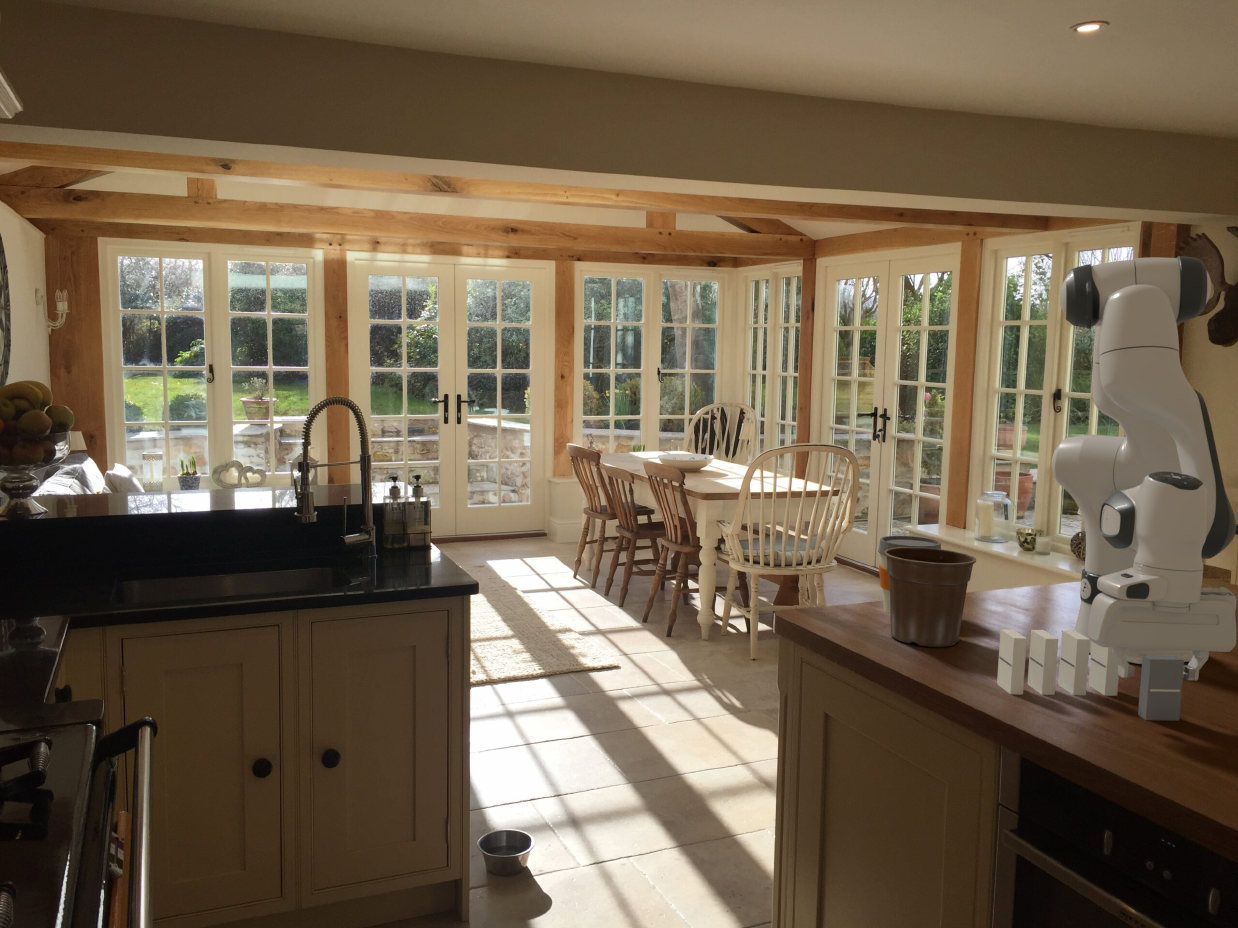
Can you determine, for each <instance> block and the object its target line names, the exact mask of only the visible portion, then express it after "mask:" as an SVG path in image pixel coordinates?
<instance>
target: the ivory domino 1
mask: <svg viewBox="0 0 1238 928" xmlns="http://www.w3.org/2000/svg"><path fill="white" fill-rule="evenodd" d="M999 633H1000V634H999V650H998V664H997V677H996V678H997V679H996V685H998V686H999V687H1001V688H1002V689H1003V690H1004V691H1005V692H1007V693H1008V694H1009V695H1023V694H1024V686H1025V685H1024V682H1025V670H1026V657H1027V656H1026V653H1027V637H1026V636H1023V635H1022V634H1021V633H1020V632H1017V631H1016V630H1014V629H1005V628H1004V629H1000V632H999Z"/></svg>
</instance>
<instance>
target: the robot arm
mask: <svg viewBox="0 0 1238 928" xmlns="http://www.w3.org/2000/svg"><path fill="white" fill-rule="evenodd" d="M1211 290H1212V280H1211V277H1210V274H1209V271H1208V270H1207V267H1206V264H1205V263H1204V262H1203V261H1202V260H1201V259H1200V258H1198V257H1192V256H1185V255H1184V256H1182V255H1181V256H1180V255H1177V257H1161V256H1160V257H1159V256H1157V257H1152V256H1151V257H1137V258H1136V257H1134V258H1133V259H1125V260H1117V261H1109V262H1104V263H1098V264H1095V265H1092V264H1090V263H1089V264H1088V263H1087V264H1084V265H1080V266H1076V267H1074V268H1072V269H1070V270H1069V271H1068V272H1067V274H1065V278H1064V281H1062V285H1061V287H1060V292H1059V306H1060V308H1061V311H1062V314H1063V315H1064V317H1065V320H1066V321H1067V322H1068V323H1069V324H1071V325H1072V326H1075V327H1079V328H1084V329H1089V330H1091V329H1092V327H1096V328H1095V333H1094V335H1095V336H1094V342H1093V354H1092V355H1093V356H1092V357H1093V359H1092V360H1093V361H1092V362H1093V363H1092V400H1093V402H1094V405H1095V406H1096V408H1097V409H1098V410H1099V412H1101V413H1102V414H1103V415H1105V416H1107V417H1108V418H1111V419H1113V421H1115V422H1117V423H1118V425H1119V426H1120V428H1121V429H1122V431H1123V432H1124V436H1118V435H1117V436H1116V435H1115V436H1114V435H1103V434H1087V435H1086V434H1084V435H1078V436H1070V437H1065V438H1064V439H1063V440H1062V441H1060V442H1059V444H1058V445H1057V446H1056V448H1055V449H1054V452H1053V454H1052V458H1051V471H1052V475H1053V477H1054V479H1055V480H1056V482H1057V483H1058V484H1059V485H1060V486H1061V487H1062V488H1063V489H1064V490H1065V491H1066V492H1067V493H1068V494H1069V495H1070V496H1071V498H1072V499H1073V500H1074V503H1076V505H1077V507H1078V508H1079V511H1080V513H1081V516H1082V519H1083V523H1084V529H1085V560H1084V563H1085V564H1084V568H1083V569H1082V570H1081V577H1080V590H1079V591H1080V593H1079V594H1080V595H1079V596H1080V605H1079V610H1078V615H1077V619H1076V623H1075V626H1074V629H1073V631H1076V632H1078V633H1080V634H1081V635H1083V636H1085V637H1087V638H1088V639H1090V647H1089V654H1091V644H1092V642H1094V643H1095V644H1097V645H1099V646H1101V647H1110V648H1112V653H1113V655H1114V656H1115V658H1116V660H1117V662H1118V663H1119V665H1118V675H1119V677H1120V678H1122V679H1123V678H1124V679H1133V678H1134V677H1135V673H1134V672H1135V670H1136V669H1135V668H1136V667H1135V666H1134V665H1131V664H1130V663H1133V664H1137V665H1138V664H1139V665H1142V660H1143V656H1172V657H1178V658H1180V659H1182V660H1184V663H1185V662H1188V664H1187V665H1185V664H1184V670H1183V680H1184V679H1185V680H1186V681H1198V680H1199V674H1200V670H1201V669H1202V667H1203V666H1204V665H1205V664H1206V662H1207V661H1209V656H1210V654H1209V653H1210V652H1220V653H1221V652H1222V653H1225V652H1226V653H1227V652H1229V653H1230V652H1231V651H1232V650H1233V649H1234V648H1235V647H1236V645H1237V622H1236V621H1237V620H1236V609H1237V597H1236V595H1235V593H1233V592H1232V591H1231V590H1229V589H1228V588H1227V587H1224V586H1217V587H1212V586H1204V585H1203V584H1202V583H1203V576H1204V563H1203V560H1204V559H1206V560H1208V559H1211V558H1212V559H1213V558H1214V557H1216V556H1217V555H1218V554H1220V553H1222V551H1224V550H1225V549H1226V548H1227V547H1228V546H1229V545H1230V544H1231V543H1232V542H1233V539H1234V538H1235V536H1236V531H1237V524H1236V523H1237V522H1236V517H1235V513H1234V510H1233V507H1232V504H1231V503H1230V500H1229V497H1228V495H1227V492H1226V489H1225V485H1224V479H1223V476H1222V471H1221V465H1220V460H1219V456H1218V451H1217V447H1216V440H1215V437H1214V432H1213V427H1212V423H1211V419H1210V415H1209V410H1208V407H1207V405H1206V402H1205V398H1204V397H1203V395H1202V394H1201V393H1200V391H1198V390H1196V389H1195V388H1193V386H1192V385H1191V384H1190V382H1189V381H1188V379H1187V377H1186V376H1185V373H1184V370H1183V368H1182V366H1181V365H1182V364H1181V360H1180V344H1179V343H1180V342H1179V333H1178V332H1179V330H1178V326H1180V324H1181V323H1184V322H1187V321H1191V320H1193V319H1195V318H1197V317H1198V316H1199V315H1201V313H1203V312H1204V311H1205V309H1206V305H1207V303H1208V301H1209V299H1210V297H1211V293H1212V291H1211ZM1202 585H1203V586H1202Z"/></svg>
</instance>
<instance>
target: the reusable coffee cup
mask: <svg viewBox="0 0 1238 928" xmlns="http://www.w3.org/2000/svg"><path fill="white" fill-rule="evenodd" d="M897 547H922V548H935V549H942V543H941V541H939V540H937V539H934V538H933V539H932V538H928V537H923V536H914V535H885V536H883V537H880V539H879V545H878V553H879V559H880V564H879V565H878V571H879V572H878V573H879V582H880V583H879V584H880V588H882V598H883V610H884V612H885V613H887V614H889V615H890V583H889V574H888V572H887V556H886V555H885V554H884V551H885V550H887V549H890V548H897Z"/></svg>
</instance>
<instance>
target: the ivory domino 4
mask: <svg viewBox="0 0 1238 928" xmlns="http://www.w3.org/2000/svg"><path fill="white" fill-rule="evenodd" d="M1089 659H1090V661H1089V673H1088V684H1087V685H1088V686H1089V687H1091V688H1092V689H1094V690H1095V691H1097V692H1099V693H1100V694H1101V695H1103V696H1107V697H1109V696H1118V688H1119V687H1118V686H1119V677H1120V676H1119V675H1118V665H1119V663H1118V662H1117V660H1116V658H1115V656H1114V655H1113V653H1112V648H1110V647H1101V646H1099V645H1097V644H1095V643H1094V642H1092V644H1091V653H1090V656H1089Z"/></svg>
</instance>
